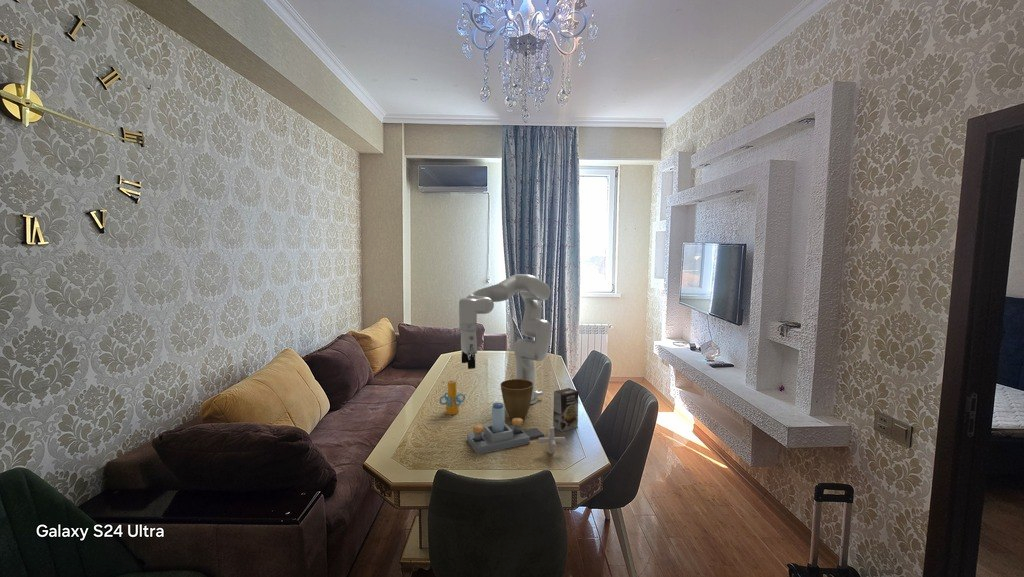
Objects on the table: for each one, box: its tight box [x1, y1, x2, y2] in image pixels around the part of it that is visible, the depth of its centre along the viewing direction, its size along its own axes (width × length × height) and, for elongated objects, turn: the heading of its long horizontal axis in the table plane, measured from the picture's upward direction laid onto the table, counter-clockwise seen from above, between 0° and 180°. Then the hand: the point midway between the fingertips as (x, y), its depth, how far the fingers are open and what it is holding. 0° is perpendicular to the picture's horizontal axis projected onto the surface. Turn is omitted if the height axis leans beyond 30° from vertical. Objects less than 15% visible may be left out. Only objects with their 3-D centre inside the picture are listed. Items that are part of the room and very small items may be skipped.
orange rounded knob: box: [471, 424, 485, 439], centre depth 171 cm, size 4×4×4 cm
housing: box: [466, 422, 531, 455], centre depth 175 cm, size 22×13×6 cm, turn 114°
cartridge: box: [491, 402, 505, 433], centre depth 175 cm, size 5×5×13 cm
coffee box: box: [552, 387, 579, 432], centre depth 189 cm, size 9×6×16 cm
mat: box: [521, 427, 545, 440], centre depth 182 cm, size 7×7×1 cm
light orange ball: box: [511, 418, 524, 432], centre depth 178 cm, size 4×4×4 cm
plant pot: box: [500, 378, 533, 421], centre depth 199 cm, size 15×15×16 cm
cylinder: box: [439, 379, 466, 416], centre depth 205 cm, size 12×10×15 cm
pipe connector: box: [537, 426, 566, 455], centre depth 166 cm, size 10×10×10 cm
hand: (468, 365), depth 190 cm, fingers open, 9 cm apart
